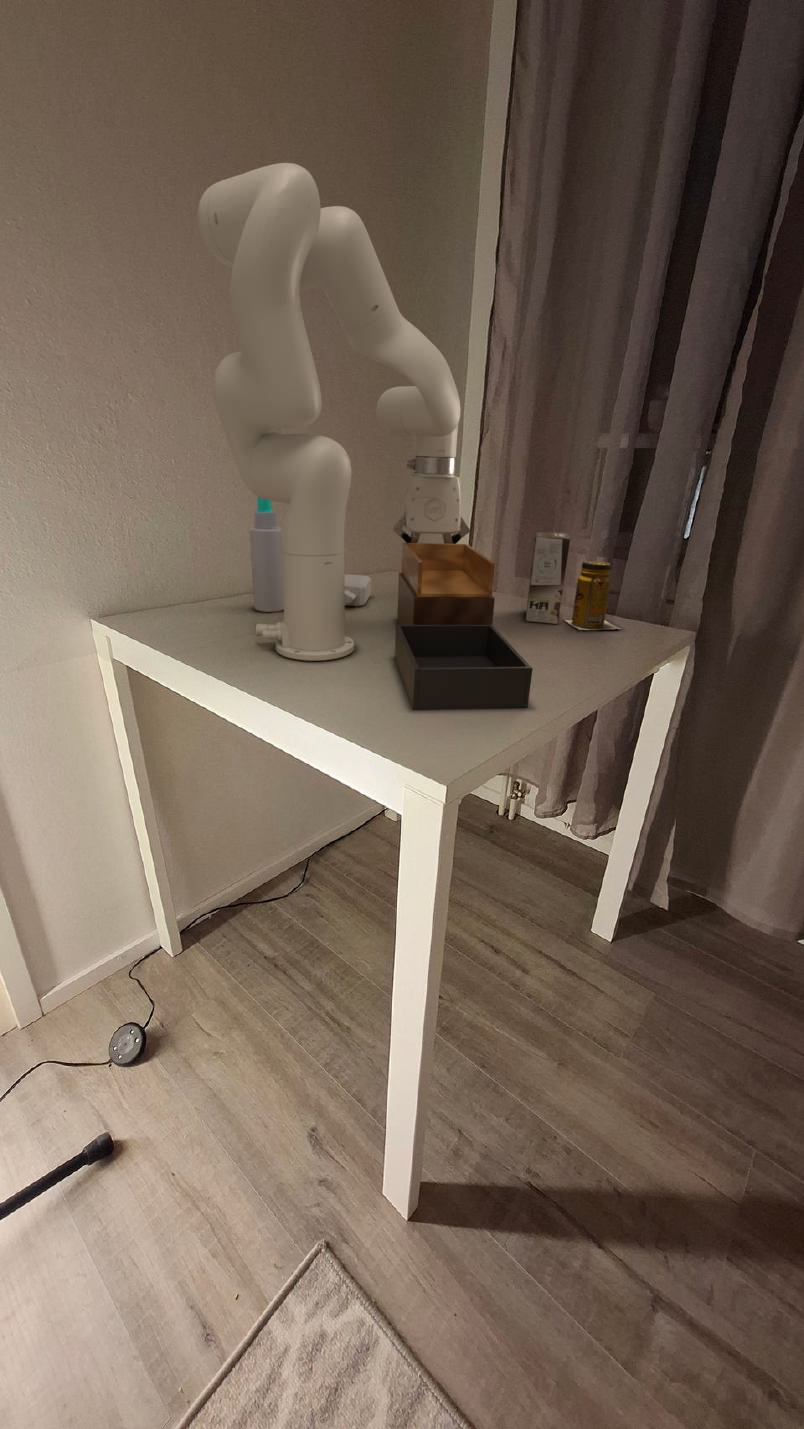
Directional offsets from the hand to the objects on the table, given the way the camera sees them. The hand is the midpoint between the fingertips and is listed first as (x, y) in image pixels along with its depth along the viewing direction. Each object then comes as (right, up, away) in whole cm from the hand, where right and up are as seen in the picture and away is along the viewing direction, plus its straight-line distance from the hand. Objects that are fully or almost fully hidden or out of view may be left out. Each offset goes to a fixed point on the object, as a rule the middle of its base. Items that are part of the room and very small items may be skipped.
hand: (429, 567), depth 119 cm
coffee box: (+23, -9, +4) cm, 25 cm away
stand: (+1, -14, -9) cm, 17 cm away
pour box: (+1, -5, -10) cm, 11 cm away
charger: (-17, -6, +9) cm, 20 cm away
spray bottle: (-32, -8, +3) cm, 33 cm away
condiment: (+31, -11, 0) cm, 33 cm away
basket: (+2, -24, -31) cm, 39 cm away
